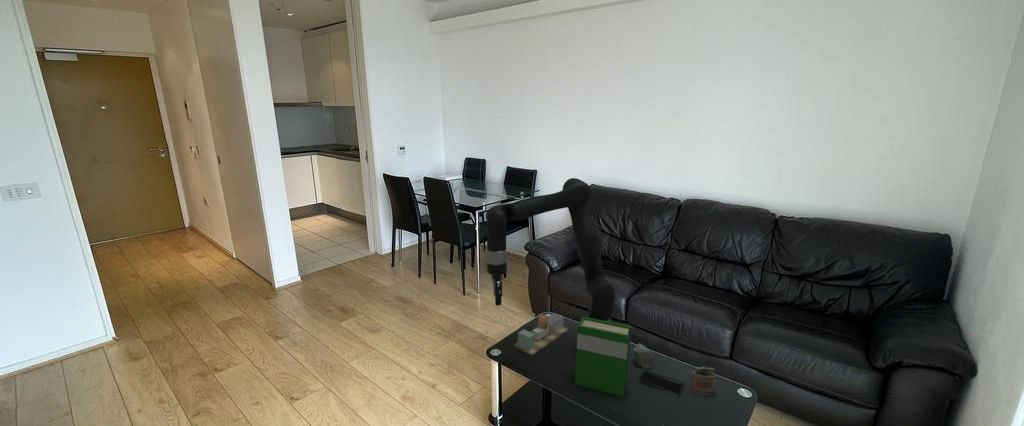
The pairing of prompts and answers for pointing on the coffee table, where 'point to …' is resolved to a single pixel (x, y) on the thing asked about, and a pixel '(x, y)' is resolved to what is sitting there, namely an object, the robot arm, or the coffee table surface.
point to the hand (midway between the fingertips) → (497, 299)
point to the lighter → (703, 381)
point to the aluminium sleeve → (555, 323)
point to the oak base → (543, 342)
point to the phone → (661, 383)
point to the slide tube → (542, 327)
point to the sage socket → (526, 340)
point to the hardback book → (602, 355)
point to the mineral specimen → (643, 356)
